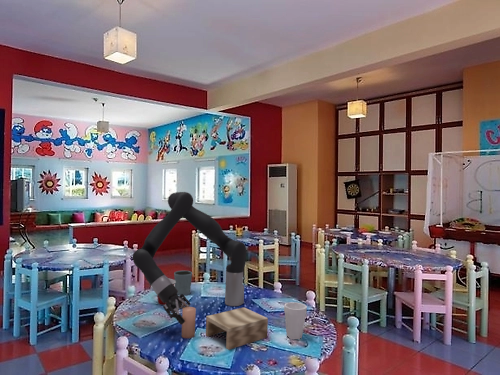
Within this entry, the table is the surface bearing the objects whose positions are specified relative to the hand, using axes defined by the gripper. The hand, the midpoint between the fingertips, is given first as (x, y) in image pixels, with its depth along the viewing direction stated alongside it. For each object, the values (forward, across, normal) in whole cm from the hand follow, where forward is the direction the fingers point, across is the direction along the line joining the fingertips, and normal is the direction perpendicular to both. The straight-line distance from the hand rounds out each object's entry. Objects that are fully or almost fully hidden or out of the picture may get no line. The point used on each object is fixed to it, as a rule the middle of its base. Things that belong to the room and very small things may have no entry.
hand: (188, 319), depth 148 cm
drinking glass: (-15, +51, +25) cm, 58 cm away
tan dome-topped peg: (+5, 0, +4) cm, 7 cm away
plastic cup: (-16, +32, +25) cm, 43 cm away
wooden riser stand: (+18, +7, -9) cm, 21 cm away
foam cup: (+34, +15, -25) cm, 45 cm away
